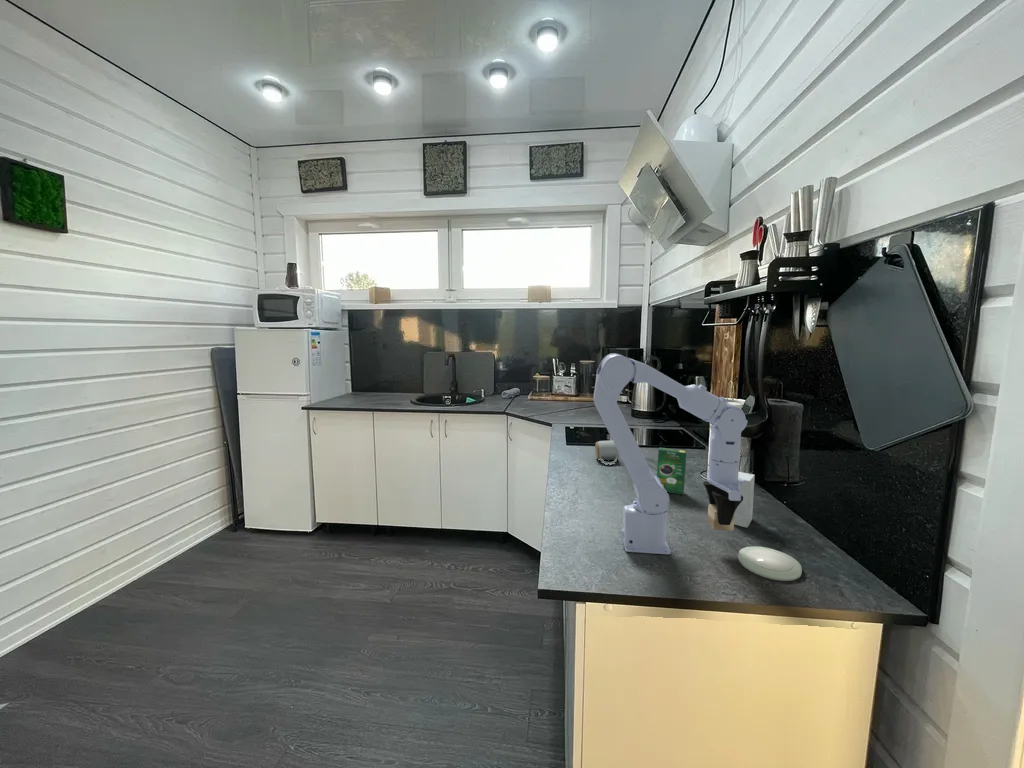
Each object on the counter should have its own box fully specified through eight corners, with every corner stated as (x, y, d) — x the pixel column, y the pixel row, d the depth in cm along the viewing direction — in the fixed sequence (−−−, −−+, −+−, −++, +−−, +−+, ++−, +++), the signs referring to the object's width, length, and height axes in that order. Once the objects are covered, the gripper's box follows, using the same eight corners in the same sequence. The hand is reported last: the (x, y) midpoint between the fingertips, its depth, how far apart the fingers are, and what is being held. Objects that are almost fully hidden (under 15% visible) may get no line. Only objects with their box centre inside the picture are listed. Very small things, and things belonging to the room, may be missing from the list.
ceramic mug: (594, 456, 159) (594, 437, 158) (615, 457, 158) (616, 437, 157) (598, 466, 148) (598, 445, 147) (621, 466, 148) (621, 445, 147)
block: (713, 529, 88) (714, 511, 88) (707, 521, 92) (708, 504, 92) (733, 530, 88) (734, 512, 87) (726, 522, 92) (727, 505, 91)
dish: (751, 578, 80) (751, 572, 80) (730, 549, 91) (730, 544, 91) (813, 583, 78) (814, 577, 78) (784, 552, 89) (784, 547, 89)
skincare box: (733, 515, 107) (736, 470, 106) (752, 519, 105) (755, 474, 103) (728, 523, 103) (731, 477, 101) (747, 528, 100) (750, 481, 99)
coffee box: (685, 492, 123) (687, 449, 121) (684, 495, 120) (686, 452, 119) (656, 488, 126) (658, 446, 125) (655, 491, 124) (657, 449, 122)
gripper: (759, 471, 80) (754, 536, 82) (731, 450, 95) (727, 506, 96) (720, 469, 81) (717, 534, 83) (699, 449, 96) (696, 504, 97)
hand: (720, 519), depth 90 cm, fingers closed on block, 4 cm apart
